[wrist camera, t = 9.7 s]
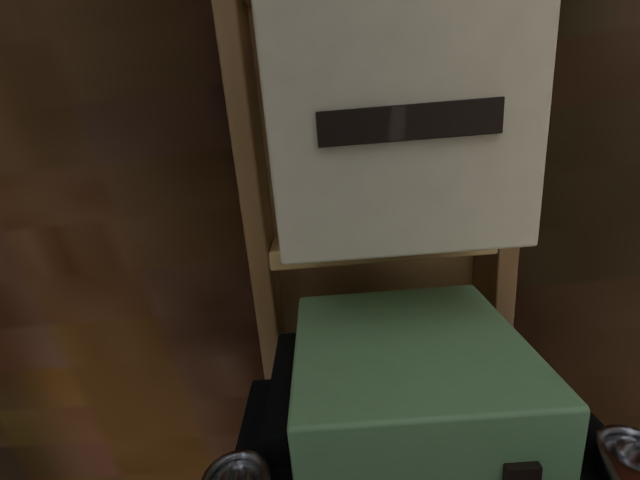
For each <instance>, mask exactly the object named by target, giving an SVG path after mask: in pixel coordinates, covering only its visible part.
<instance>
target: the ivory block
mask: <svg viewBox="0 0 640 480" xmlns="http://www.w3.org/2000/svg"><path fill="white" fill-rule="evenodd" d="M560 3H561V0H251V5H252V14H253V22H254V31H255V40H256V48H257V57H258V66H259V74H260V83H261V92H262V101H263V109H264V118H265V127H266V135H267V144H268V153H269V162H270V170H271V179H272V188H273V196H274V205H275V214H276V222H277V231H278V240H279V249H280V257H281V262H282V264H283V265H291V264H305V263H318V262H331V261H345V260H358V259H371V258H384V257H398V256H411V255H424V254H437V253H451V252H464V251H477V250H490V249H504V248H517V247H530V246H536V245H537V243H538V234H539V224H540V213H541V203H542V192H543V182H544V171H545V161H546V150H547V139H548V129H549V118H550V108H551V97H552V87H553V76H554V66H555V55H556V45H557V34H558V24H559V13H560Z"/></svg>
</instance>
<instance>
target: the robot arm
mask: <svg viewBox="0 0 640 480" xmlns="http://www.w3.org/2000/svg"><path fill="white" fill-rule="evenodd" d="M295 340H296V333H284V334H279V336H278V341H277V347H276V353H275V358H274V364H273V369H272V375H271V379H265V380H254V381H253V382H252V385H251V389H250V393H249V397H248V401H247V405H246V409H245V413H244V418H243V422H242V426H241V430H240V434H239V438H238V442H237V446H236V450H235V451H231V452H229V453H226V454H224V455H222V456H221V457H219V458H218V459H216V460H215V461H213V463H212V464H211V465H210V466H209V467H208V468H207V469H206V471H205V473H204V475H203V477H202V478H201V480H293V475H292V468H291V460H290V452H289V444H288V436H287V422H288V411H289V401H290V391H291V381H292V371H293V360H294V350H295ZM580 480H640V429H637V428H635V427H630V426H626V425H614V424H610V425H606V426H604V425H603V424H602V423H601V422H600V421H599V420H598V419H597V418H596V416H595V415H594V414H593V413H592V412H591V411H590V419H589V425H588V431H587V437H586V443H585V450H584V456H583V462H582V468H581V474H580Z"/></svg>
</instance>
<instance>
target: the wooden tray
mask: <svg viewBox="0 0 640 480" xmlns="http://www.w3.org/2000/svg"><path fill="white" fill-rule="evenodd" d="M211 4H212V11H213V18H214V25H215V32H216V39H217V46H218V53H219V60H220V67H221V74H222V82H223V89H224V96H225V103H226V110H227V117H228V124H229V131H230V138H231V145H232V152H233V159H234V166H235V173H236V180H237V187H238V194H239V201H240V208H241V215H242V222H243V229H244V236H245V244H246V251H247V258H248V265H249V272H250V279H251V286H252V293H253V300H254V307H255V314H256V321H257V328H258V335H259V342H260V349H261V356H262V363H263V370H264V377H265V379H271V375H272V369H273V364H274V358H275V353H276V347H277V341H278V336H279V334H284V333H296V330H297V319H298V309H299V300H300V298H302V297H313V296H326V295H340V294H353V293H367V292H380V291H394V290H407V289H421V288H434V287H448V286H461V285H473V286H474V287H475V288H476V289H477V290H478V291H479V292H480V293H481V294H482V295H483V296H484V297H485V298H486V299H487V300H488V301H489V302H490V303H491V304H492V306H493V307H494V308H495V309H496V310H497V311H498V312H499V313H500V314H501V315H502V316H503V317H504V318H505V319H506V320H507V321H508V322H509V323H510V324H511V325H512V326H513V324H514V312H515V300H516V287H517V275H518V263H519V250H520V247H517V248H504V249H490V250H477V251H464V252H451V253H437V254H424V255H411V256H398V257H384V258H371V259H358V260H345V261H331V262H318V263H305V264H291V265H283V264H282V262H281V257H280V249H279V240H278V231H277V222H276V214H275V205H274V196H273V188H272V179H271V170H270V162H269V153H268V144H267V135H266V127H265V118H264V109H263V101H262V92H261V83H260V74H259V66H258V57H257V48H256V40H255V31H254V22H253V14H252V5H251V0H211Z"/></svg>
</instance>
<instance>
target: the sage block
mask: <svg viewBox="0 0 640 480" xmlns="http://www.w3.org/2000/svg"><path fill="white" fill-rule="evenodd" d="M589 419H590V409H589V406H588V405H587V404H586V403H585V402H584V401H583V400H582V399H581V398H580V397H579V396H578V395H577V394H576V393H575V391H574V390H573V389H572V388H571V387H570V386H569V385H568V384H567V383H566V382H565V381H564V380H563V379H562V378H561V377H560V376H559V375H558V374H557V373H556V372H555V371H554V369H553V368H552V367H551V366H550V365H549V364H548V363H547V362H546V361H545V360H544V359H543V358H542V357H541V356H540V355H539V354H538V353H537V352H536V351H535V350H534V349H533V347H532V346H531V345H530V344H529V343H528V342H527V341H526V340H525V339H524V338H523V337H522V336H521V335H520V334H519V333H518V332H517V331H516V330H515V329H514V328H513V326H512V325H511V324H510V323H509V322H508V321H507V320H506V319H505V318H504V317H503V316H502V315H501V314H500V313H499V312H498V311H497V310H496V309H495V308H494V307H493V306H492V304H491V303H490V302H489V301H488V300H487V299H486V298H485V297H484V296H483V295H482V294H481V293H480V292H479V291H478V290H477V289H476V288H475V287H474V286H473V285H461V286H448V287H434V288H421V289H407V290H394V291H380V292H367V293H353V294H340V295H326V296H313V297H302V298H300V300H299V309H298V319H297V330H296V340H295V350H294V360H293V371H292V381H291V391H290V401H289V411H288V422H287V436H288V444H289V452H290V460H291V468H292V475H293V480H580V474H581V468H582V462H583V456H584V450H585V443H586V437H587V431H588V425H589Z"/></svg>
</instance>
